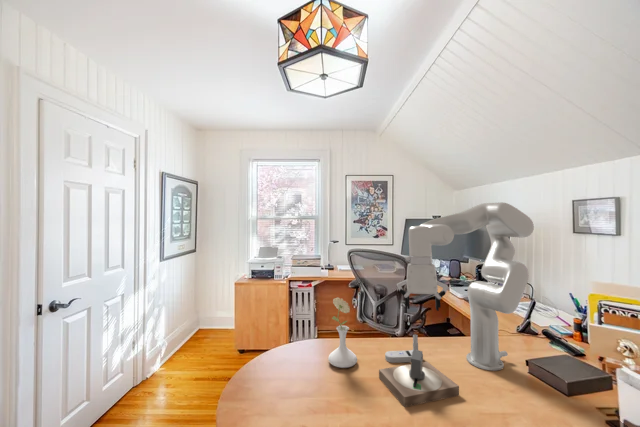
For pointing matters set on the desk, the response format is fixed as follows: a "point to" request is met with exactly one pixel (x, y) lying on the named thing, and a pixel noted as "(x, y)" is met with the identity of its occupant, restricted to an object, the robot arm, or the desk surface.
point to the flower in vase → (342, 340)
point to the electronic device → (402, 353)
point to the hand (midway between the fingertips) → (422, 308)
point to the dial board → (418, 385)
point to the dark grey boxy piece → (416, 367)
